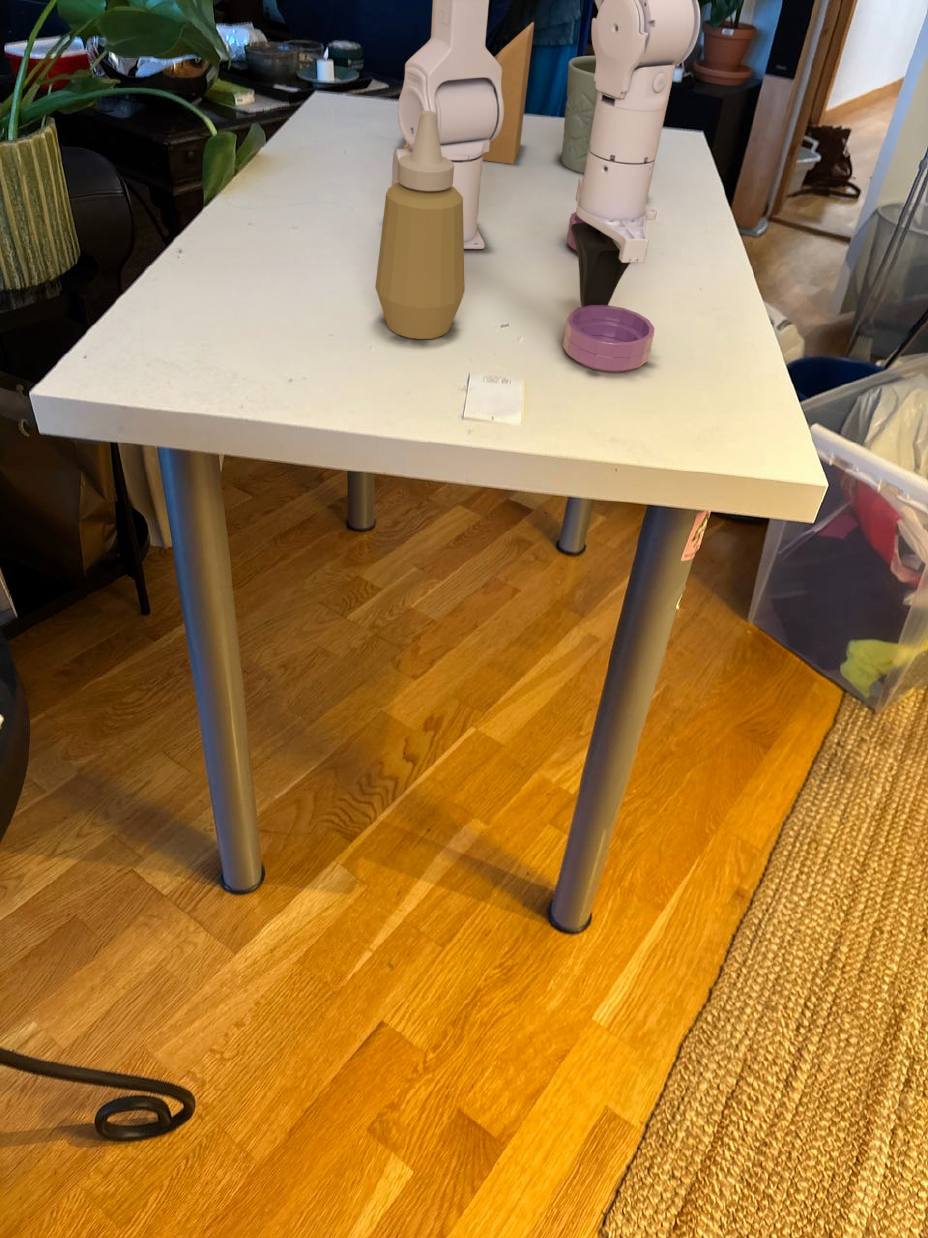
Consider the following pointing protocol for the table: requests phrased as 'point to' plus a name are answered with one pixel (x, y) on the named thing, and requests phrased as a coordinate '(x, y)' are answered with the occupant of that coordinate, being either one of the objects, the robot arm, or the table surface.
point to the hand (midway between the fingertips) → (592, 307)
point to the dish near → (608, 337)
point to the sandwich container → (511, 97)
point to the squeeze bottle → (422, 241)
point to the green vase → (579, 112)
